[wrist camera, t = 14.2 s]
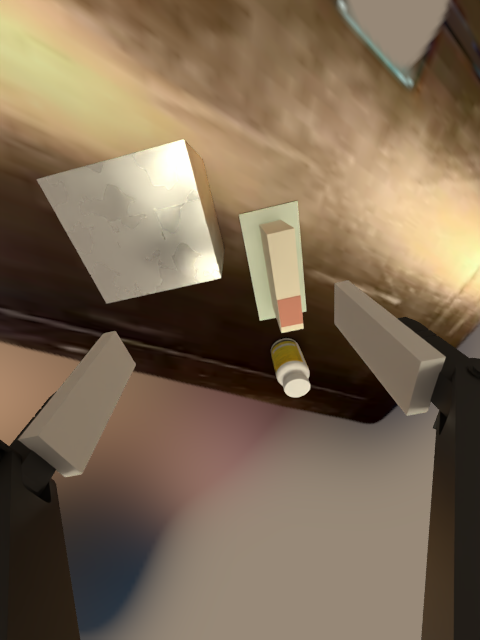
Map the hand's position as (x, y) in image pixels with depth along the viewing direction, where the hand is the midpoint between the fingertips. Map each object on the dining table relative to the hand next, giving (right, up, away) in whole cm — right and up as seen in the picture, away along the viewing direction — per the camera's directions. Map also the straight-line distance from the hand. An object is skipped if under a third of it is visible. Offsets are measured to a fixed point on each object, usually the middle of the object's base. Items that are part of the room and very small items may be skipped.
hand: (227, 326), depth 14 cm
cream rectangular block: (+6, +8, +21) cm, 23 cm away
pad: (+6, +9, +21) cm, 24 cm away
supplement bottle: (+9, -5, +30) cm, 31 cm away
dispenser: (-9, +14, +18) cm, 24 cm away
